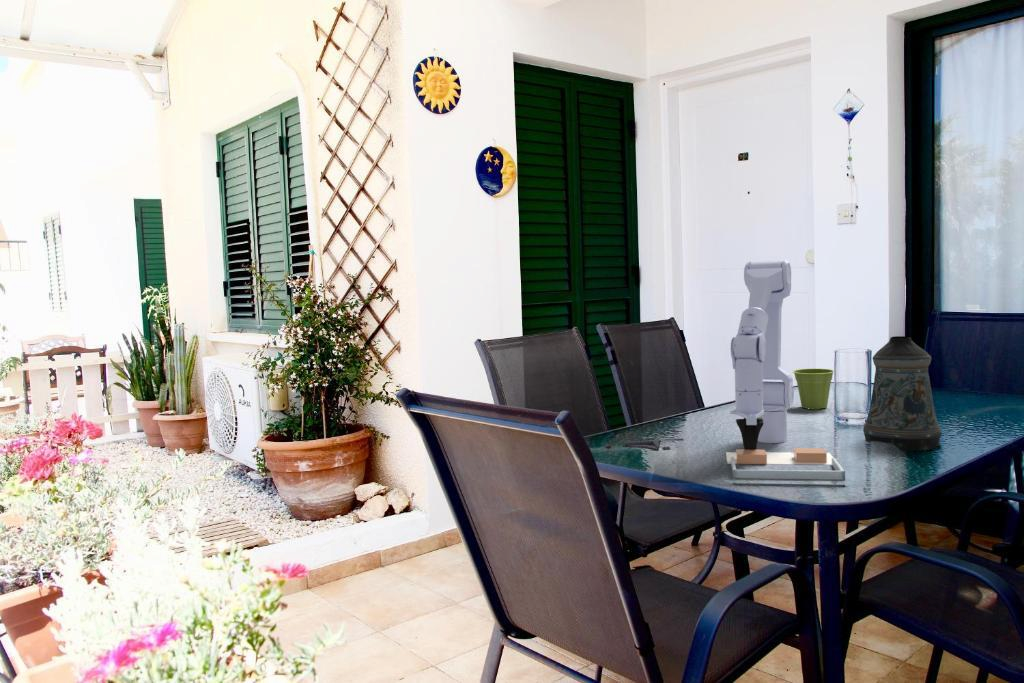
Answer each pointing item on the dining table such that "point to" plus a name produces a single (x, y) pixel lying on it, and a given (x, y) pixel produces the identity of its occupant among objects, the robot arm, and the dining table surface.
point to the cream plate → (780, 458)
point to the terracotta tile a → (751, 456)
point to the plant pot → (814, 387)
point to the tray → (790, 475)
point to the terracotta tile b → (810, 455)
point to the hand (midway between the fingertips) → (750, 452)
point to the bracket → (650, 442)
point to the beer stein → (902, 398)
